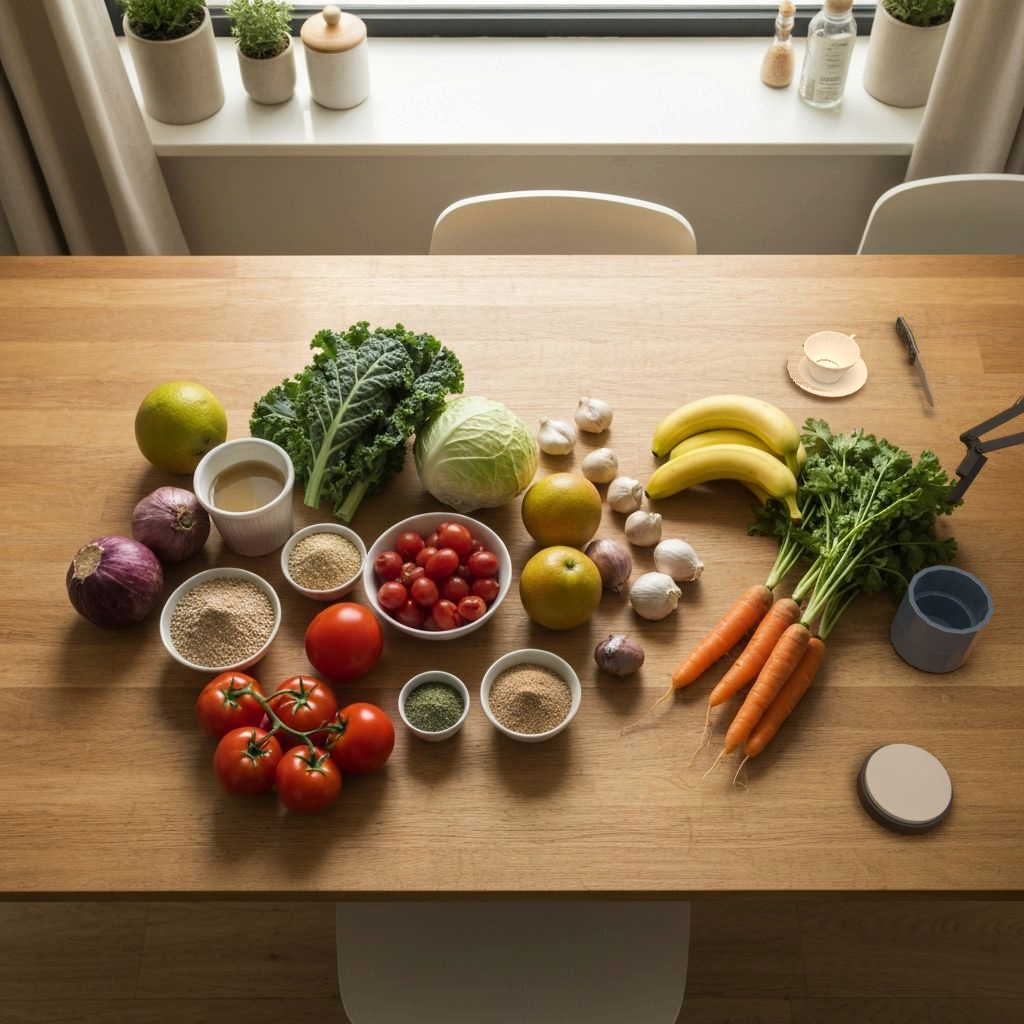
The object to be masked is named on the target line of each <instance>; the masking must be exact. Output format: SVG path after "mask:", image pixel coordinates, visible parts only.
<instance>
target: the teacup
mask: <svg viewBox="0 0 1024 1024" xmlns="http://www.w3.org/2000/svg"><path fill="white" fill-rule="evenodd" d="M856 337H857V335H856V334H855V333H853V334H851V335H850V336H848V335H847V334H844V333H841V332H837V331H829V330H824V331H818V332H816V333H813V334H811V335H810V336H808V337H807V338H806V340H805V342H804V344H803V345H804V351H805V355H806V356H804V357H803V358H802V359H801V360H800V363H799V365H798V370H799V373H800V375H801V377H802V378H803V379H804V380H805V381H806V382H807V383H808V384H810V385H812V386H814V387H817V388H820V389H825V390H832V391H825V390H824V391H825V392H824V391H823V390H822V391H823V392H822V391H818V390H817V391H816V390H811V389H812V388H809V387H808V388H807V387H806V386H805V387H806V388H805V387H804V386H803V385H800V384H798V383H796V381H795V380H792V381H793V382H794V381H795V383H794V384H795V385H797V386H798V387H799V386H800V387H799V388H801V389H802V390H804V391H806V392H807V393H810V394H813V395H815V396H816V395H817V396H820V397H825V398H839V397H840V398H841V397H845V396H849V395H851V394H854V393H856V392H857V391H859V390H860V389H861V388H862V387H863V386H864V385H865V384H866V382H867V379H868V368H867V366H866V363H865V360H863V358H861V350H860V346H859V345H858V344H857V342H856V341H855V340H856ZM820 359H828V360H831V361H833V362H835V363H837V365H838V366H839V367H838V366H837V365H836V364H834V363H832V362H829V361H820V362H816V361H817V360H820ZM853 366H854V367H853ZM812 374H813V375H814V376H815V377H816V378H815V377H814V376H813V375H812ZM791 378H792V377H790V379H791ZM817 378H818V379H817ZM819 379H820V380H819ZM822 380H823V381H822ZM835 380H836V381H835ZM826 381H831V382H826Z"/></svg>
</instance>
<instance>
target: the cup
mask: <svg viewBox="0 0 1024 1024" xmlns="http://www.w3.org/2000/svg"><path fill="white" fill-rule="evenodd" d="M994 612H995V608H994V600H993V595H992V594H991V593H990V591H989V590H988V587H987V586H986V585H985V583H984V582H983V581H981V580H980V579H979V578H977V577H976V576H975V575H974V574H972V573H971V572H968V571H965V570H964V569H961V568H959V567H956V566H949V565H940V564H939V565H934V566H929V567H924V568H923V569H922V570H920V571H919V572H917V573H916V574H914V575H913V576H912V579H911V581H910V583H909V585H908V587H907V589H906V591H905V593H904V596H903V598H902V600H901V602H900V604H899V607H898V609H897V611H896V613H895V616H894V618H893V620H892V622H891V624H890V627H889V628H890V629H889V631H890V632H889V634H890V642H891V644H892V645H893V648H894V649H895V651H896V653H897V654H898V655H899V656H900V657H901V658H902V659H903V660H904V661H906V662H907V664H909V665H911V666H913V667H915V668H917V669H919V670H921V671H923V672H930V673H935V674H936V673H938V674H943V673H948V672H951V671H952V672H953V671H956V670H957V669H959V668H960V667H962V666H963V665H964V664H965V663H967V661H968V660H969V658H970V656H971V655H972V653H973V651H974V650H975V648H976V645H977V644H978V643H979V641H980V639H981V637H982V636H983V634H984V633H985V630H986V629H987V627H988V625H989V624H990V622H991V619H992V617H993V614H994Z"/></svg>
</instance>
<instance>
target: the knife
mask: <svg viewBox="0 0 1024 1024" xmlns="http://www.w3.org/2000/svg"><path fill="white" fill-rule="evenodd" d="M895 322H896V323H895V324H896V331H897V333H898V334H899V336H900V338H901V341H902V343H903V344H904V345H905V346H906V349H907V353H908V362H909V364H911V365H914V368H915V372H916V374H917V376H918V379H919V382H920V385H921V388H922V390H923V393H924V395H925V399H926V401H927V403H928V404H929V406H930V407H931V408H933V409H935V406H934V399H933V398H934V397H933V395H932V392H931V389H930V385H929V383H928V380H927V375H926V370H925V367H924V365H923V363H922V360H921V356H920V350H919V348H918V346H917V342H916V339H915V336H914V334H913V332H912V330H911V328H910V327H909V325H908V324H907V322H906V320H905V319H904V317H903V316H898V317H897V318H896V321H895Z"/></svg>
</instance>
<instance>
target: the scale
mask: <svg viewBox="0 0 1024 1024" xmlns="http://www.w3.org/2000/svg"><path fill="white" fill-rule="evenodd" d="M856 792H857V797H858V799H859V801H860V804H861V806H862V808H863V810H864V811H865V812H866V814H867V815H868V816H869V817H870V818H871V819H872V820H873V821H874V822H876V824H878V825H879V826H880V827H883V828H884V829H886V830H888V831H890V832H892V833H896V834H900V835H904V836H919V835H923V834H926V833H927V834H928V833H929V832H931V831H933V830H934V829H936V828H937V827H938V826H939V825H940V824H941V823H942V822H943V820H944V819H945V817H946V816H947V815H948V813H949V812H950V810H951V808H952V805H953V799H954V789H953V785H952V781H951V778H950V776H949V774H948V771H947V770H946V769H945V767H944V765H943V764H942V763H941V762H940V760H938V759H937V758H936V757H935V756H934V755H933V754H931V753H930V752H929V751H927V750H925V749H923V748H921V747H919V746H917V745H913V744H908V743H890V744H886V745H883V746H880V747H878V748H875V750H873V751H872V752H870V753H869V755H868V756H867V757H866V758H865V760H864V761H863V764H862V765H861V767H860V769H859V771H858V774H857V778H856Z"/></svg>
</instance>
